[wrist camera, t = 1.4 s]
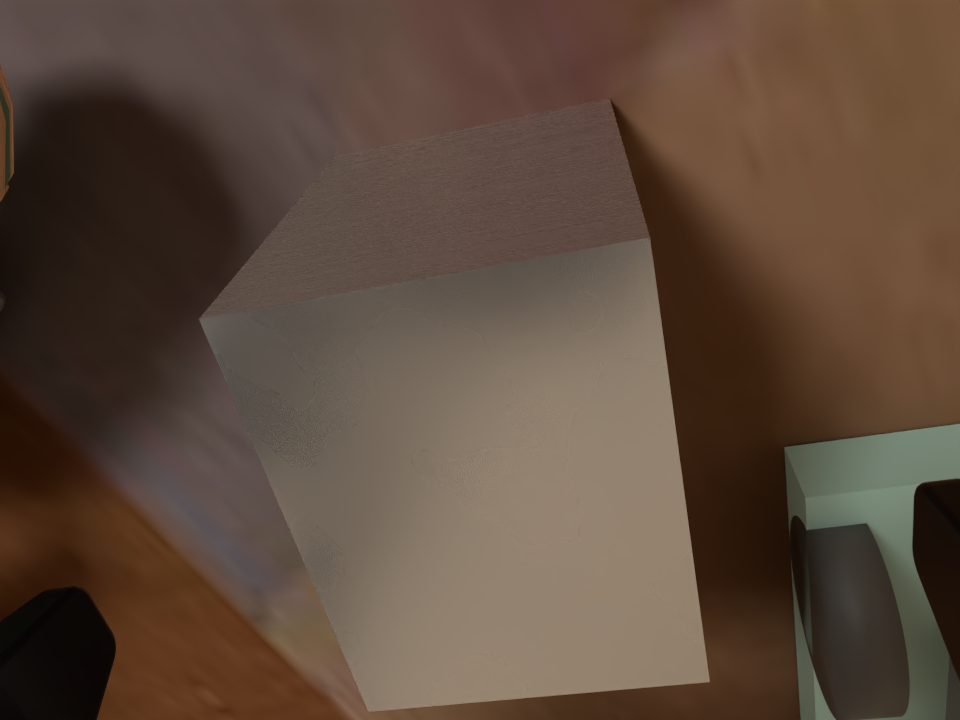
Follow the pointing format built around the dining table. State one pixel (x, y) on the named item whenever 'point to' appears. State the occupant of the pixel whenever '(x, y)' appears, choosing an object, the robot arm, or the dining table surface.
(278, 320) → the white block
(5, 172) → the hoverbike
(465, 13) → the dining table surface
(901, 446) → the chassis
